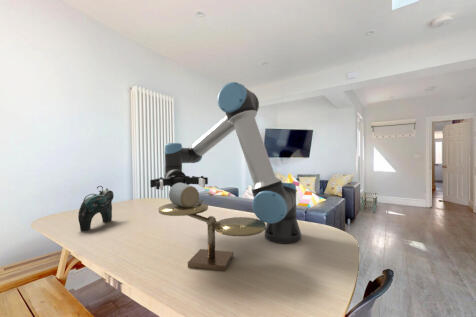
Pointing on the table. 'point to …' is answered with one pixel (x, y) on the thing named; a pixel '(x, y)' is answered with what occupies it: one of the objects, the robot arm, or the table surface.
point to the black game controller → (95, 208)
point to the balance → (228, 226)
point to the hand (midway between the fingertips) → (183, 184)
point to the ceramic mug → (184, 195)
